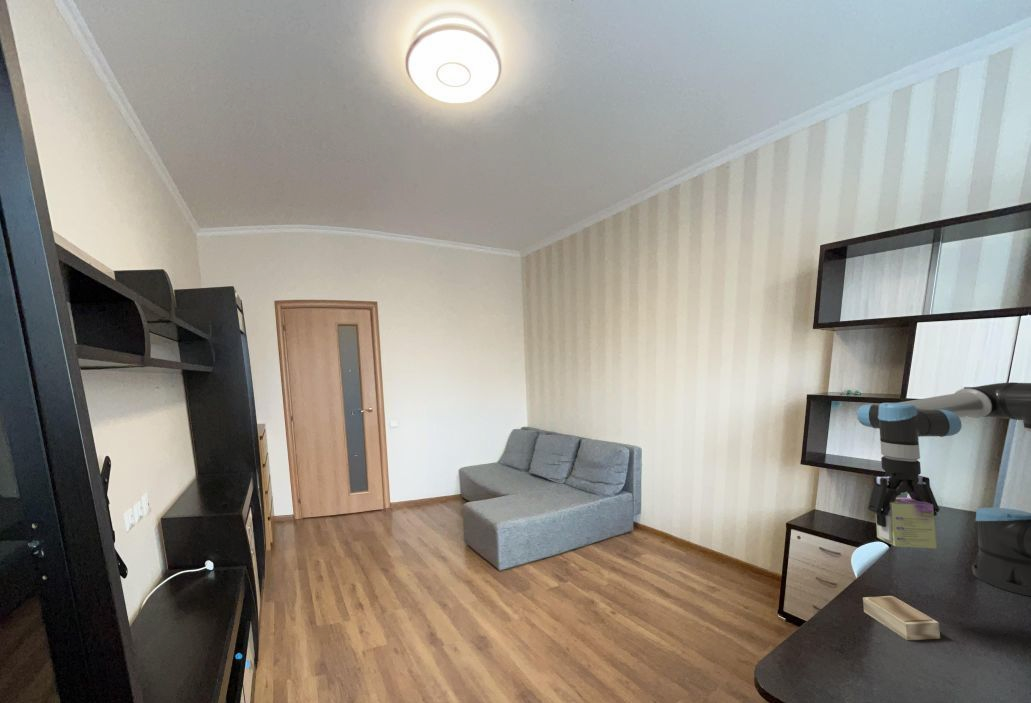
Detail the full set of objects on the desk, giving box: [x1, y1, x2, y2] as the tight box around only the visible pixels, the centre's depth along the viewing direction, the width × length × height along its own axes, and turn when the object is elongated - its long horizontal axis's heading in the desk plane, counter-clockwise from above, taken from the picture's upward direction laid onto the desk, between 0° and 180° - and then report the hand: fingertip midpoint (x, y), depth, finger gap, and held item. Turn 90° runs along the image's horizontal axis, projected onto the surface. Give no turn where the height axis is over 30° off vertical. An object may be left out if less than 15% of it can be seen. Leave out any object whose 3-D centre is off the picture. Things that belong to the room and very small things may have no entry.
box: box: [875, 496, 937, 549], centre depth 100 cm, size 10×6×12 cm, turn 84°
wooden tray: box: [862, 595, 941, 641], centre depth 98 cm, size 9×11×4 cm
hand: (905, 537), depth 100 cm, fingers closed on box, 11 cm apart
